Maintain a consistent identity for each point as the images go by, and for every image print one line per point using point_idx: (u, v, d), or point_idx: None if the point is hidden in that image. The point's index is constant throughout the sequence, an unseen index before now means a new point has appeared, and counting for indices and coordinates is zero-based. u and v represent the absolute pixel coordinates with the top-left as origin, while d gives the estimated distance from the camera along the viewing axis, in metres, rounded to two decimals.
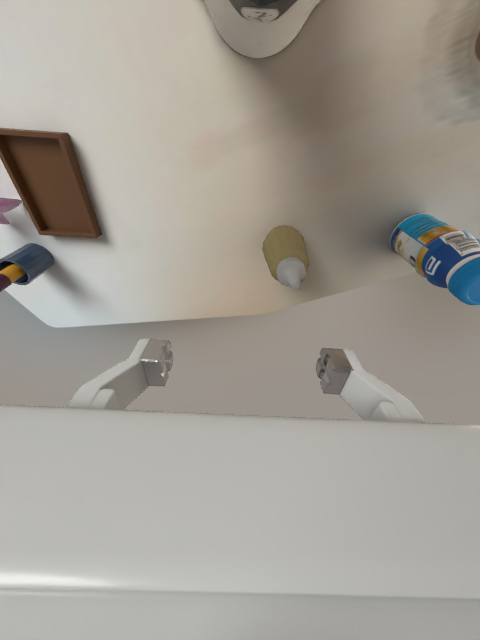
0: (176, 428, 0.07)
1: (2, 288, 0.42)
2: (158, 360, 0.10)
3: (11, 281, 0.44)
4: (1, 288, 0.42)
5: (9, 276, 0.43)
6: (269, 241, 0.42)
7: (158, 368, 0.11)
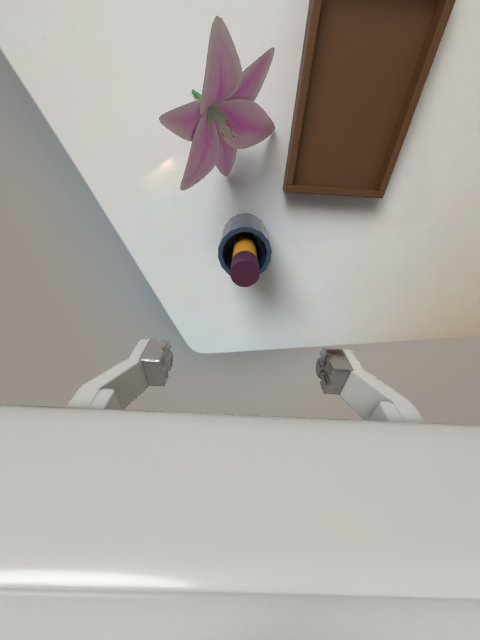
0: (176, 428, 0.07)
1: None
2: (158, 360, 0.10)
3: None
4: (257, 278, 0.21)
5: None
6: None
7: (158, 368, 0.11)
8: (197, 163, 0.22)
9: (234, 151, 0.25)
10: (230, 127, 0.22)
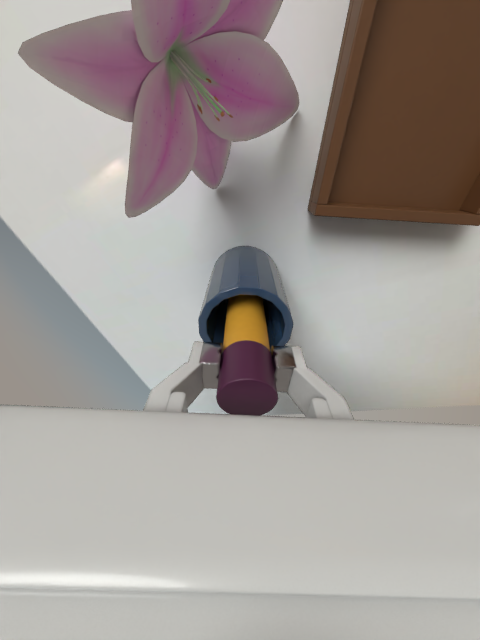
0: (176, 428, 0.07)
1: None
2: (218, 363, 0.11)
3: None
4: None
5: (269, 350, 0.12)
6: None
7: (216, 371, 0.11)
8: (154, 167, 0.12)
9: (226, 146, 0.14)
10: (217, 98, 0.12)
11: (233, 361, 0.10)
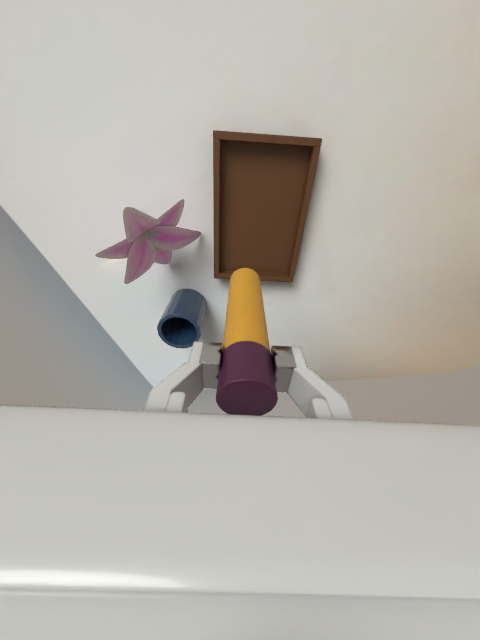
0: (176, 428, 0.07)
1: None
2: (218, 363, 0.11)
3: None
4: None
5: (269, 351, 0.12)
6: None
7: (216, 371, 0.11)
8: (136, 267, 0.29)
9: (169, 251, 0.31)
10: (161, 239, 0.29)
11: (233, 362, 0.10)
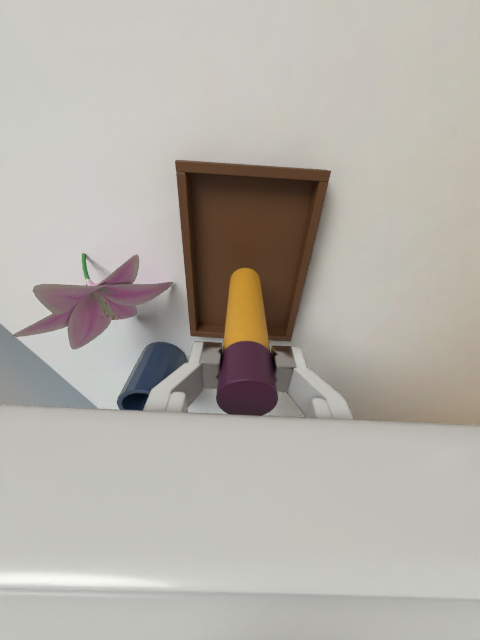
0: (176, 428, 0.07)
1: None
2: (218, 363, 0.11)
3: None
4: None
5: None
6: None
7: (216, 371, 0.11)
8: (84, 332, 0.22)
9: (132, 305, 0.24)
10: (118, 296, 0.22)
11: (233, 362, 0.10)
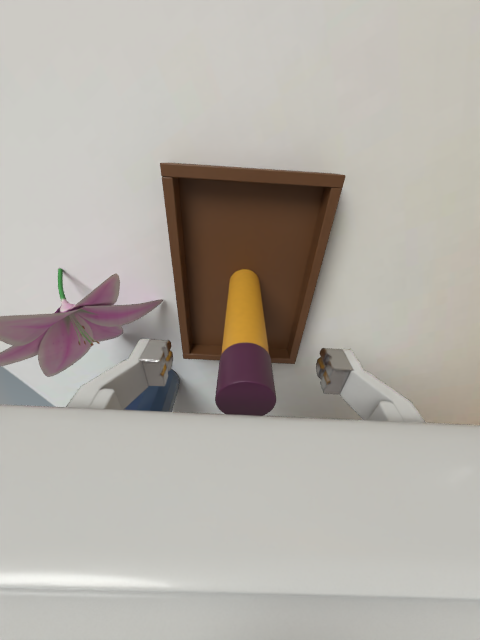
0: (176, 428, 0.07)
1: None
2: (158, 360, 0.10)
3: None
4: None
5: (268, 352, 0.12)
6: None
7: (158, 368, 0.11)
8: (61, 359, 0.19)
9: (116, 325, 0.22)
10: (99, 317, 0.19)
11: (232, 363, 0.10)
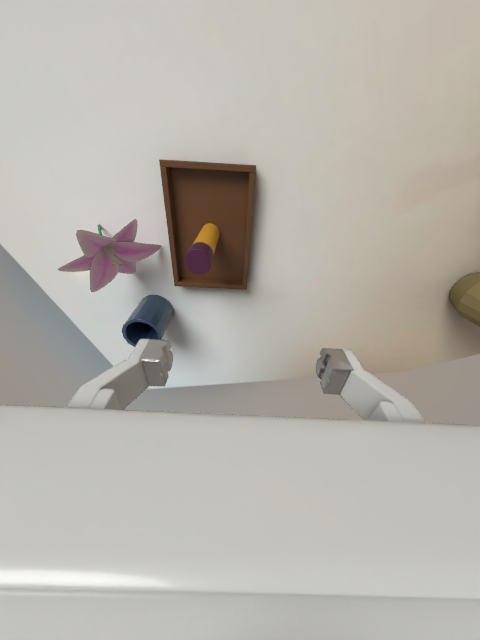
0: (176, 428, 0.07)
1: (209, 267, 0.24)
2: (158, 360, 0.10)
3: None
4: (210, 266, 0.24)
5: (212, 249, 0.25)
6: None
7: (158, 368, 0.11)
8: (100, 277, 0.32)
9: (132, 262, 0.34)
10: (123, 252, 0.32)
11: (192, 247, 0.23)
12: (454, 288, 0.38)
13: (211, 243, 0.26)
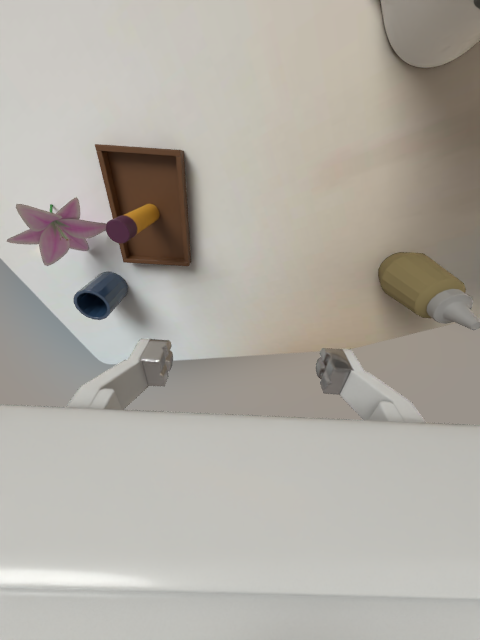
0: (176, 428, 0.07)
1: (130, 236, 0.27)
2: (158, 360, 0.10)
3: (137, 230, 0.29)
4: (129, 236, 0.27)
5: (136, 222, 0.29)
6: (401, 269, 0.36)
7: (158, 368, 0.11)
8: (51, 252, 0.36)
9: (83, 239, 0.38)
10: (72, 229, 0.36)
11: None
12: (380, 267, 0.41)
13: (137, 218, 0.30)
